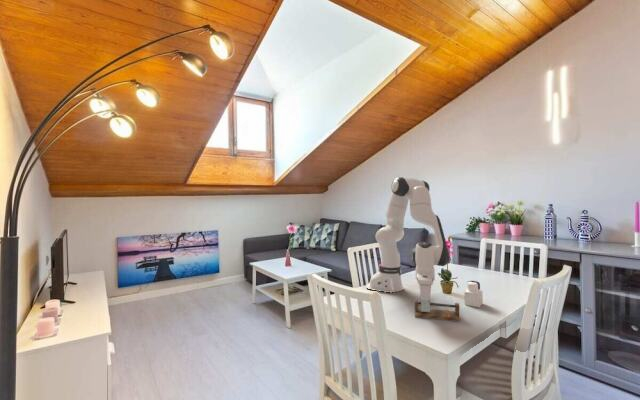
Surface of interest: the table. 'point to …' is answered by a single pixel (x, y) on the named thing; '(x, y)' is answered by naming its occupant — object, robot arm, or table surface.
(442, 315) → the rail
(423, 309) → the marker sleeve
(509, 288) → the table surface
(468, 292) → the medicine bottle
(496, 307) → the table surface
